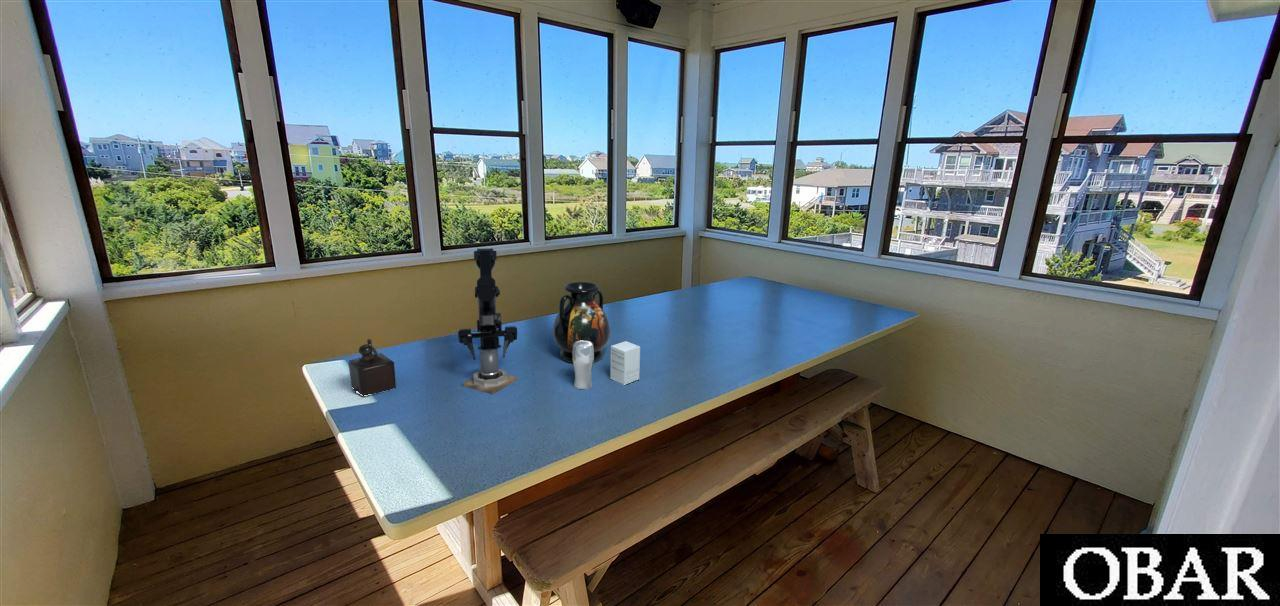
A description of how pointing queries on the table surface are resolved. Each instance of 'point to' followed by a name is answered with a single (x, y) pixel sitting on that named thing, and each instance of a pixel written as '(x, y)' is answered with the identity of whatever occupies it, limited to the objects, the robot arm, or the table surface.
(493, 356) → the grey dome-topped cylinder
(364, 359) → the brown coffee grinder
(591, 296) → the amphora vase
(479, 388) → the walnut mount board
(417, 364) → the table surface
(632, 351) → the supplement box
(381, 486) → the table surface
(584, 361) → the beer glass
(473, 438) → the table surface
